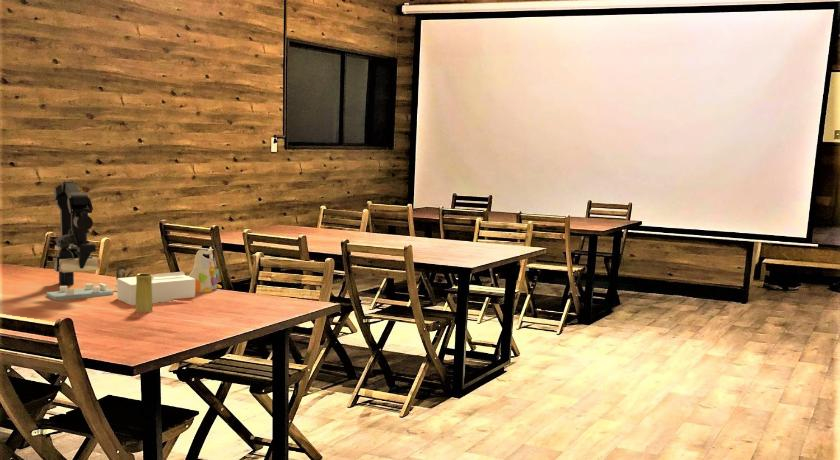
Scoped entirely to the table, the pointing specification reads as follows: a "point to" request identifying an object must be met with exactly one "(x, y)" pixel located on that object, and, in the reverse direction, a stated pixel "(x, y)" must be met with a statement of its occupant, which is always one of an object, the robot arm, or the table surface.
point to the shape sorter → (205, 272)
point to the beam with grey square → (74, 266)
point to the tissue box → (158, 287)
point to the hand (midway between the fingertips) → (79, 267)
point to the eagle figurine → (122, 273)
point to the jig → (80, 292)
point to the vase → (143, 293)
